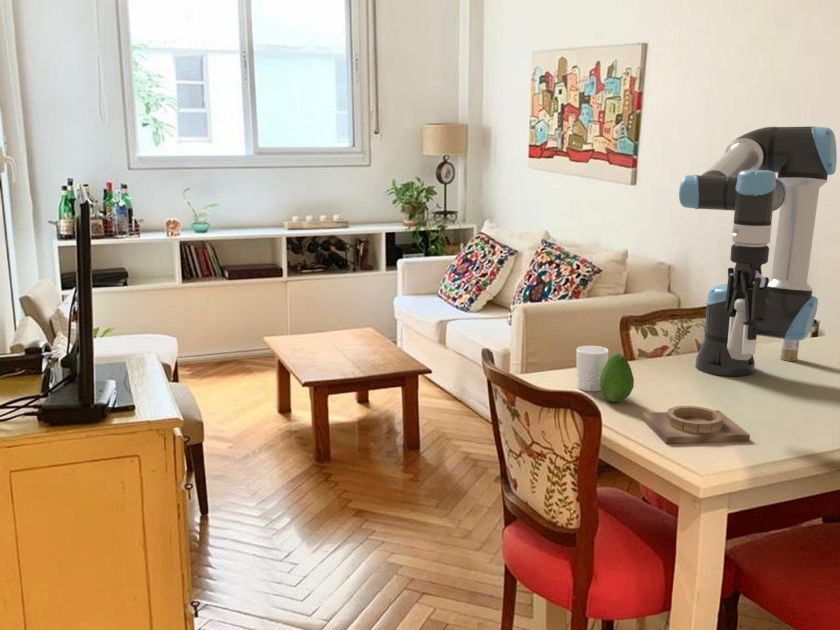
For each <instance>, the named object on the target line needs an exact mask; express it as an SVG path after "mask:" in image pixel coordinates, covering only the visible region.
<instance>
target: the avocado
mask: <svg viewBox="0 0 840 630" xmlns="http://www.w3.org/2000/svg"><path fill="white" fill-rule="evenodd" d="M630 365H631V364H630V363H629V361H628V360H627V358H626V357H625V356H624V355H622V354H620V353H614V354H611V355H610V356H609V357H608V361H607V363H606V365H605V366H604V368H603V371H602V373H601V376H600V387H601V391H600V392H601V394H602V395H603V397H604V398H605V399H606V400H607V401H610V402H613V403H620V402H623V401H624V400H626V399H627V398H628V397H630V395H631V393H632V391H633V389H634V384H635V378H634V374H633V371H632V368H631V366H630Z"/></svg>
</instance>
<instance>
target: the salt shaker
mask: <svg viewBox="0 0 840 630" xmlns="http://www.w3.org/2000/svg"><path fill="white" fill-rule="evenodd" d="M734 309H735V310H737V313H736V316H735V320H734V324H733V328H732V331H731V334H730V338H729V341H728V345H727V349H728V351H729V354H730V356H731V358H733V359H737V360H748V359H750V358H751V356H752V355H753V356H754V354H742V353H741V350H742V339H743V328H744V324H743V322H746V305H745V299H737V300H736V301H735V304H734ZM756 348H757V347H756ZM756 348H755V350H756Z"/></svg>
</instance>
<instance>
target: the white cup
mask: <svg viewBox="0 0 840 630" xmlns="http://www.w3.org/2000/svg"><path fill="white" fill-rule="evenodd" d="M609 351H610V350H609V349H608V348H606V347H604V346H600V345H582V346H578V347H577V348H576V377H577V378H576V379H577V381H576V383H577V385H576V387H577V389H579V390H582V391H585V392H602V391H601V387H600V376H601V373H602V371H603V368H604V366H605V365H606V363H607V361H608V359H609Z"/></svg>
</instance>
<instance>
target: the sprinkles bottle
mask: <svg viewBox="0 0 840 630" xmlns="http://www.w3.org/2000/svg"><path fill="white" fill-rule="evenodd" d="M799 345H800V340H784V339H782V341H781V350H780V351H781V352H780V359H781V360H784V361H786V362H787V361H788V362H795V361H798V360H799V359H798V355H799V354H798V353H799V348H800V346H799Z"/></svg>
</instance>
